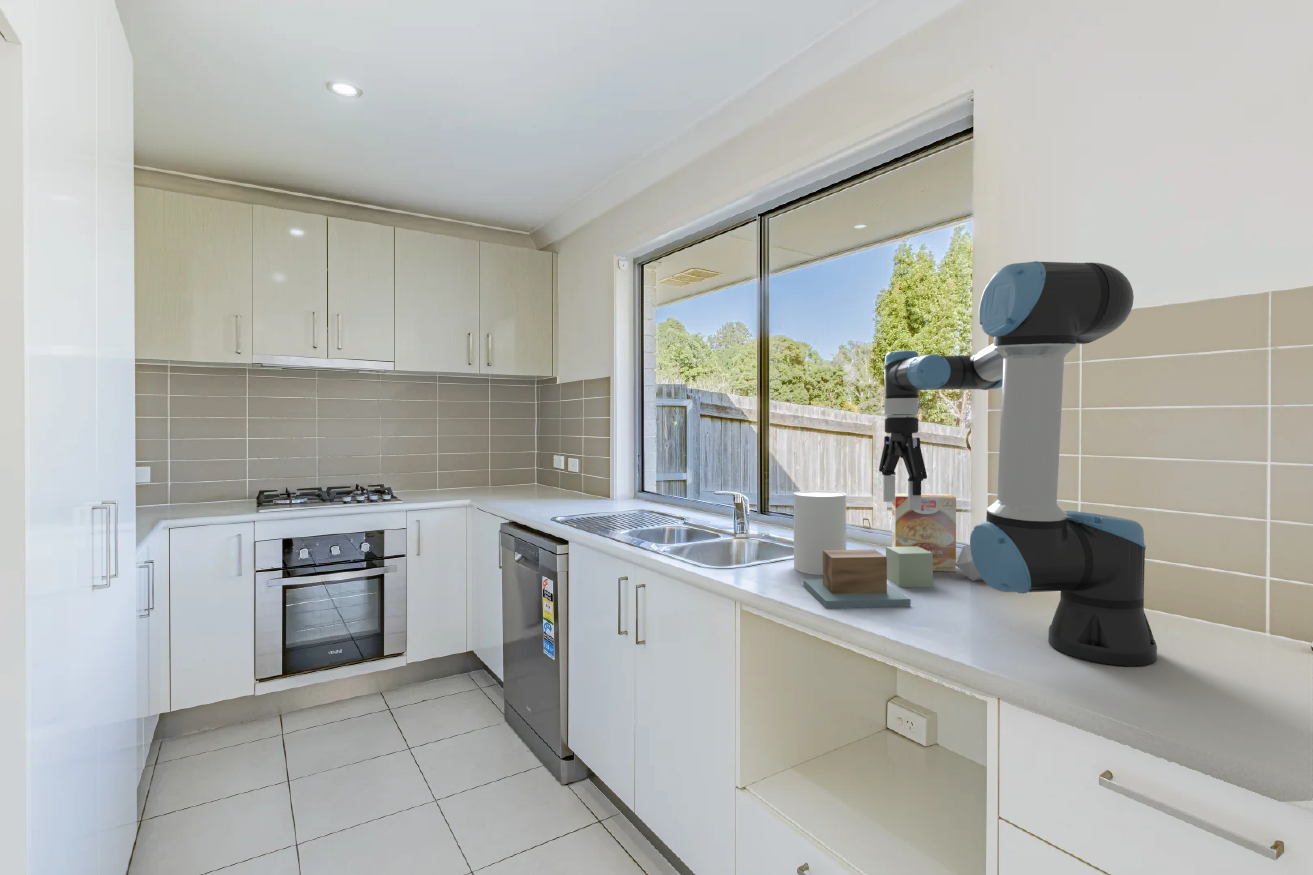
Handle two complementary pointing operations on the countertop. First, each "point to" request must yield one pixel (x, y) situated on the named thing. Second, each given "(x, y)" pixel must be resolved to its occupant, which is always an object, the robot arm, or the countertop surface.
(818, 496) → the canister
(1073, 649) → the robot arm
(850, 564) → the walnut block
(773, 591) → the countertop surface
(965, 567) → the die
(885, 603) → the base board
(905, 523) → the coffeecake box
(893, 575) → the sage block
